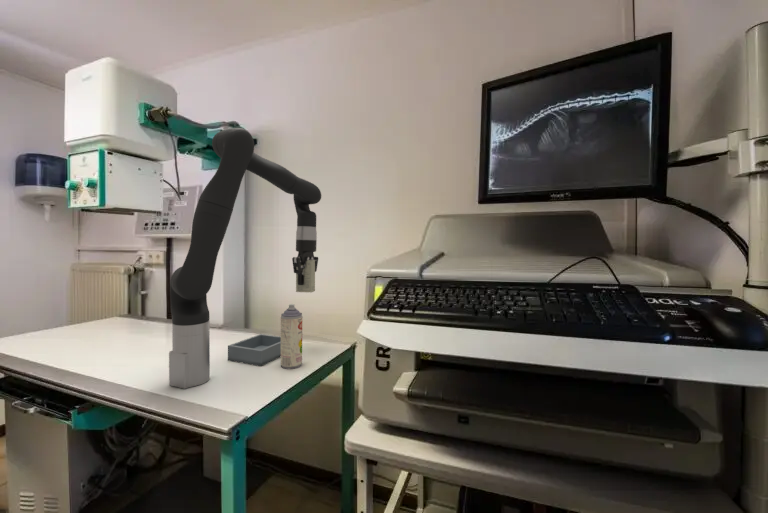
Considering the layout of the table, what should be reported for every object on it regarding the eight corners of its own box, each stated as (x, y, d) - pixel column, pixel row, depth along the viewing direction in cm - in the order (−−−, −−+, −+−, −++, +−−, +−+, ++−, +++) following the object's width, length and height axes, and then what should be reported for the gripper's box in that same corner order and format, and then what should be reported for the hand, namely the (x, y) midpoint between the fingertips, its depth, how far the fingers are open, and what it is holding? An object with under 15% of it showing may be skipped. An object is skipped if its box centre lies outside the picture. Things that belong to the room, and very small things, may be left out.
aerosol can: (302, 368, 108) (302, 306, 107) (280, 369, 106) (280, 307, 105) (302, 360, 114) (302, 302, 113) (281, 362, 113) (281, 303, 112)
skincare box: (315, 291, 128) (315, 259, 128) (311, 292, 124) (312, 260, 123) (299, 290, 129) (300, 259, 128) (294, 292, 124) (295, 259, 124)
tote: (261, 366, 109) (261, 351, 108) (227, 360, 114) (227, 345, 113) (291, 351, 124) (291, 338, 123) (260, 346, 129) (260, 333, 128)
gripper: (303, 238, 118) (302, 286, 118) (325, 239, 131) (323, 283, 132) (286, 238, 120) (285, 285, 121) (308, 239, 134) (307, 281, 134)
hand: (305, 284), depth 126 cm, fingers closed on skincare box, 5 cm apart
